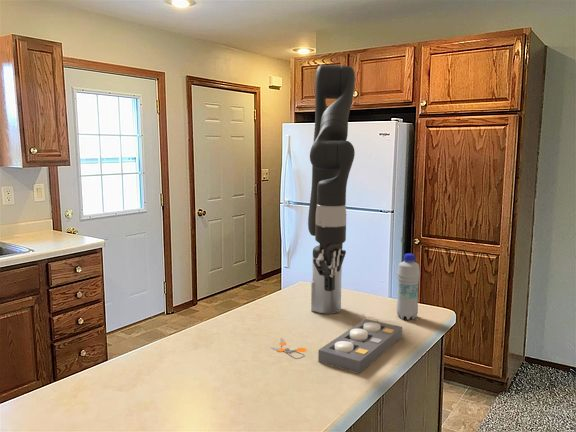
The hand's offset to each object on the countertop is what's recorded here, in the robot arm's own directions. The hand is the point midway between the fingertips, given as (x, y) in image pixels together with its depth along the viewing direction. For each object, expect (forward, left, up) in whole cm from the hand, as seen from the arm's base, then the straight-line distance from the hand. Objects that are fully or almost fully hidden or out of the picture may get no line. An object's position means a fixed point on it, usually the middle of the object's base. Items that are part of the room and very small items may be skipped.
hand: (329, 290), depth 121 cm
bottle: (+22, +29, -16) cm, 39 cm away
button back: (+11, +10, -14) cm, 21 cm away
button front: (+4, -4, -14) cm, 16 cm away
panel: (+9, +3, -16) cm, 18 cm away
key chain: (-10, 0, -17) cm, 20 cm away
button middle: (+8, +3, -14) cm, 16 cm away
